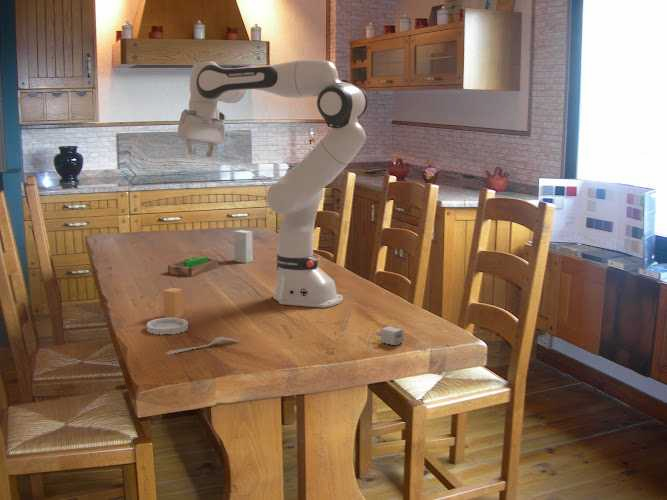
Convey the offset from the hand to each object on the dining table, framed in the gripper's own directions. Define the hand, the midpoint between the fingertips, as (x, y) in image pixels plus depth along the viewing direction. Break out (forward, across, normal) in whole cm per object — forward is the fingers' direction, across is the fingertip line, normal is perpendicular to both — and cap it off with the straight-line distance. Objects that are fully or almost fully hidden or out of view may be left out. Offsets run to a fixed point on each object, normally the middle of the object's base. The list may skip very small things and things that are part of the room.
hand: (200, 156), depth 249 cm
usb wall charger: (+49, -13, -74) cm, 90 cm away
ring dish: (+50, -32, -16) cm, 62 cm away
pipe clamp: (+40, +29, +23) cm, 55 cm away
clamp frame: (+40, +29, +23) cm, 55 cm away
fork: (+53, -40, -34) cm, 75 cm away
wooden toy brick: (+49, -22, -10) cm, 54 cm away
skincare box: (+37, +51, +16) cm, 65 cm away
